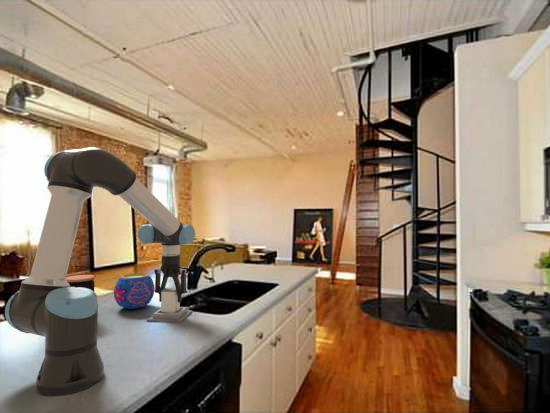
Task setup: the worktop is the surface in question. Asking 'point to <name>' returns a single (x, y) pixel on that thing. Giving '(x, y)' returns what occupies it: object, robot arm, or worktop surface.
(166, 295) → the plug block
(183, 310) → the socket plate
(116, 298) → the ceramic pot
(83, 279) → the coffee jar
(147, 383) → the worktop surface
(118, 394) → the worktop surface
